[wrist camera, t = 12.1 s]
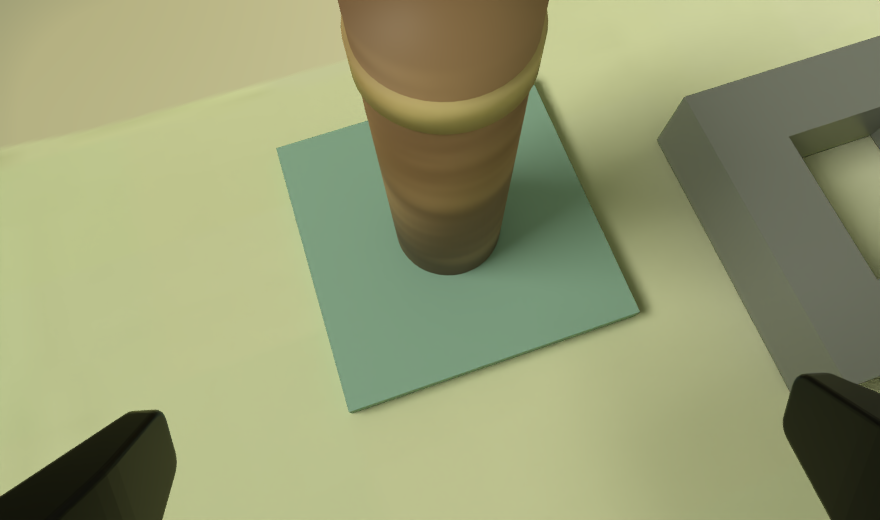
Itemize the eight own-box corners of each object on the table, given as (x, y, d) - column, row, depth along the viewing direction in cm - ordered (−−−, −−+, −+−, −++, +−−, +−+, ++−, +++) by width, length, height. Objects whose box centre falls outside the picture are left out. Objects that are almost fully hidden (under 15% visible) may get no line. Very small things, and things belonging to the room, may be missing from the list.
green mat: (634, 315, 21) (640, 311, 21) (352, 413, 20) (348, 412, 20) (526, 80, 25) (528, 72, 24) (280, 155, 24) (276, 148, 23)
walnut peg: (524, 219, 22) (601, -35, 11) (455, 300, 21) (458, 115, 10) (441, 158, 23) (430, -135, 12) (371, 232, 22) (283, -8, 11)
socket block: (1059, 299, 21) (1153, 275, 18) (793, 397, 20) (848, 387, 17) (891, 65, 25) (948, 14, 22) (656, 140, 24) (684, 97, 21)
